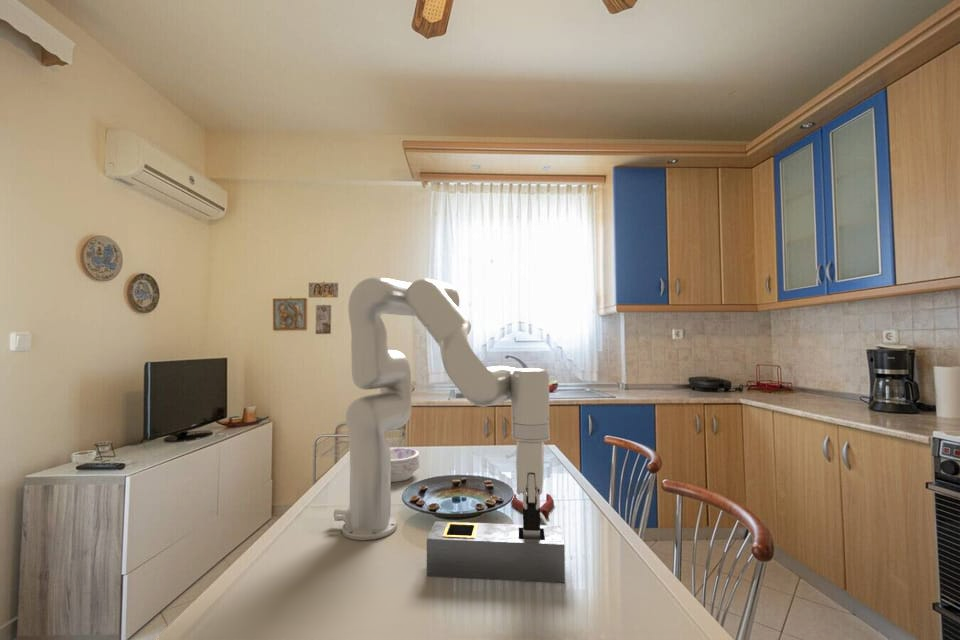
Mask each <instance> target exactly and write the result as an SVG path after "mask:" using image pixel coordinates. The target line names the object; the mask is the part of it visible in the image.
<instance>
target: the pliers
mask: <svg viewBox="0 0 960 640" xmlns="http://www.w3.org/2000/svg"><path fill="white" fill-rule="evenodd" d="M513 495H514V498H513V500H512V501H511V505H512V507H513V508H514V509H516V510H517V511H519V512H521V513H522V514H523V501H521V500H519V499H518V498H517V494H513ZM554 505H555V501H554V498H553V496H552V495H551V494H549V493H546V500H545V502H544V503H543V504H542V505H541V506H540V525H547V526H549V525H548V522H547V519H549V518H550V515H549V513H550V511H551V510H552V509H553V508H554Z"/></svg>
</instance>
